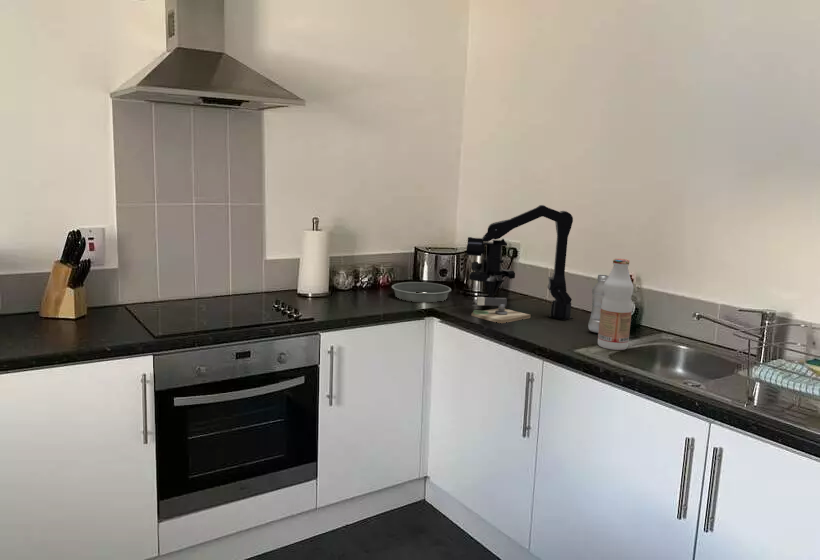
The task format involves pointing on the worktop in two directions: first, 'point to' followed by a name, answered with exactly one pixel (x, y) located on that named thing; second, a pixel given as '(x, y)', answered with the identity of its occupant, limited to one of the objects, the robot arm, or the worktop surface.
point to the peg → (493, 302)
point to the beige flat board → (500, 315)
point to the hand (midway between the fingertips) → (491, 297)
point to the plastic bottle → (597, 303)
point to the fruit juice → (616, 308)
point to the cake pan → (410, 288)
